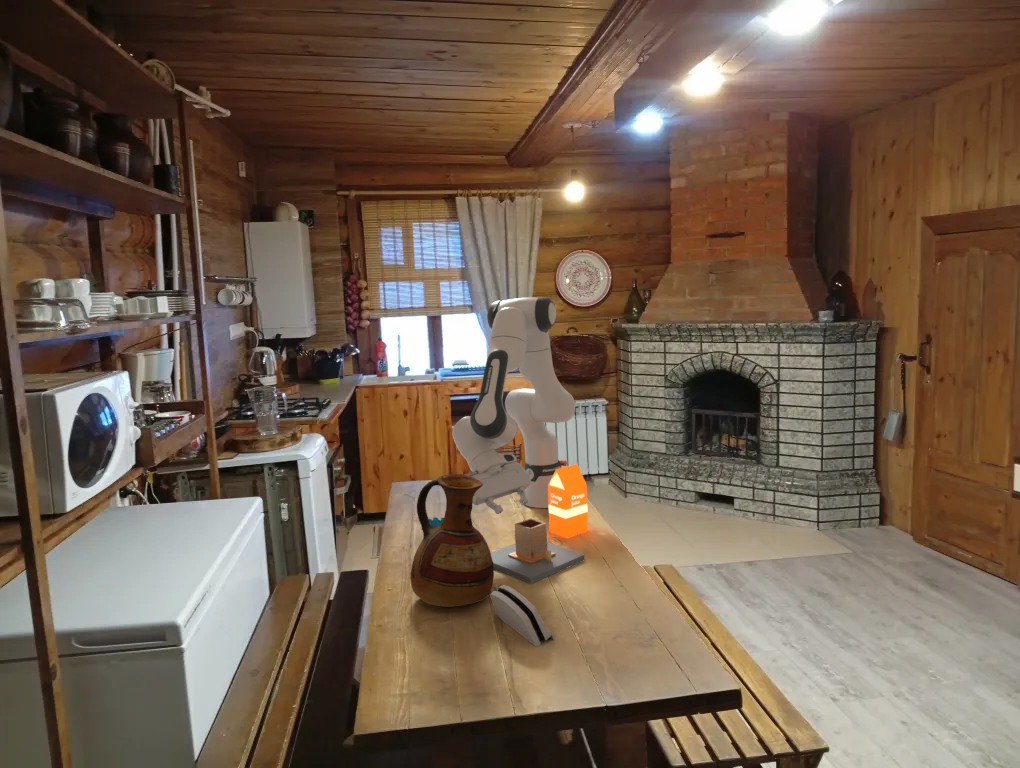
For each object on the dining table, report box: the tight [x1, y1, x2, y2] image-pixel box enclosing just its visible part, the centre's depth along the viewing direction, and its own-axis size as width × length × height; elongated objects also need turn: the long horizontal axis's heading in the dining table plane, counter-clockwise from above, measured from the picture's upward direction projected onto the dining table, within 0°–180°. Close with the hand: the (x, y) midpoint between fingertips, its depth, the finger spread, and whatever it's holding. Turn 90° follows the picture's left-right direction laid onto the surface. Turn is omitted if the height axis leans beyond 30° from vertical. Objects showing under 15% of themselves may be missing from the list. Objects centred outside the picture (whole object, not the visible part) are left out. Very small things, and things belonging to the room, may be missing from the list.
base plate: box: [490, 541, 586, 584], centre depth 187 cm, size 20×20×6 cm
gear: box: [421, 517, 444, 531], centre depth 206 cm, size 11×6×10 cm
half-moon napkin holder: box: [489, 584, 556, 647], centre depth 150 cm, size 17×5×10 cm, turn 30°
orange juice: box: [548, 463, 589, 539], centre depth 207 cm, size 8×9×20 cm
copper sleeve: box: [508, 518, 556, 565], centre depth 186 cm, size 9×9×9 cm
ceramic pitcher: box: [410, 473, 495, 607], centre depth 165 cm, size 20×20×30 cm
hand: (513, 507), depth 191 cm, fingers open, 8 cm apart
